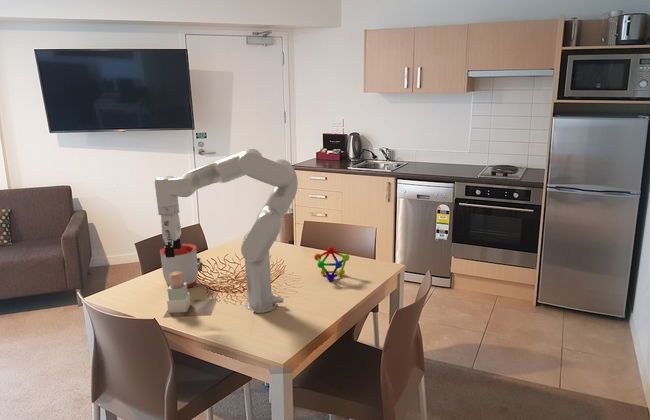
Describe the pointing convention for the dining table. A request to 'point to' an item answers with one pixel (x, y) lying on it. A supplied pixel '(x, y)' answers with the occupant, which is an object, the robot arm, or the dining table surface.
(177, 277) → the pink domed cylinder
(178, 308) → the cream block
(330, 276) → the educational toy
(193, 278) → the citrus juicer
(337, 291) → the dining table surface
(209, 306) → the serving board
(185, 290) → the sage block
